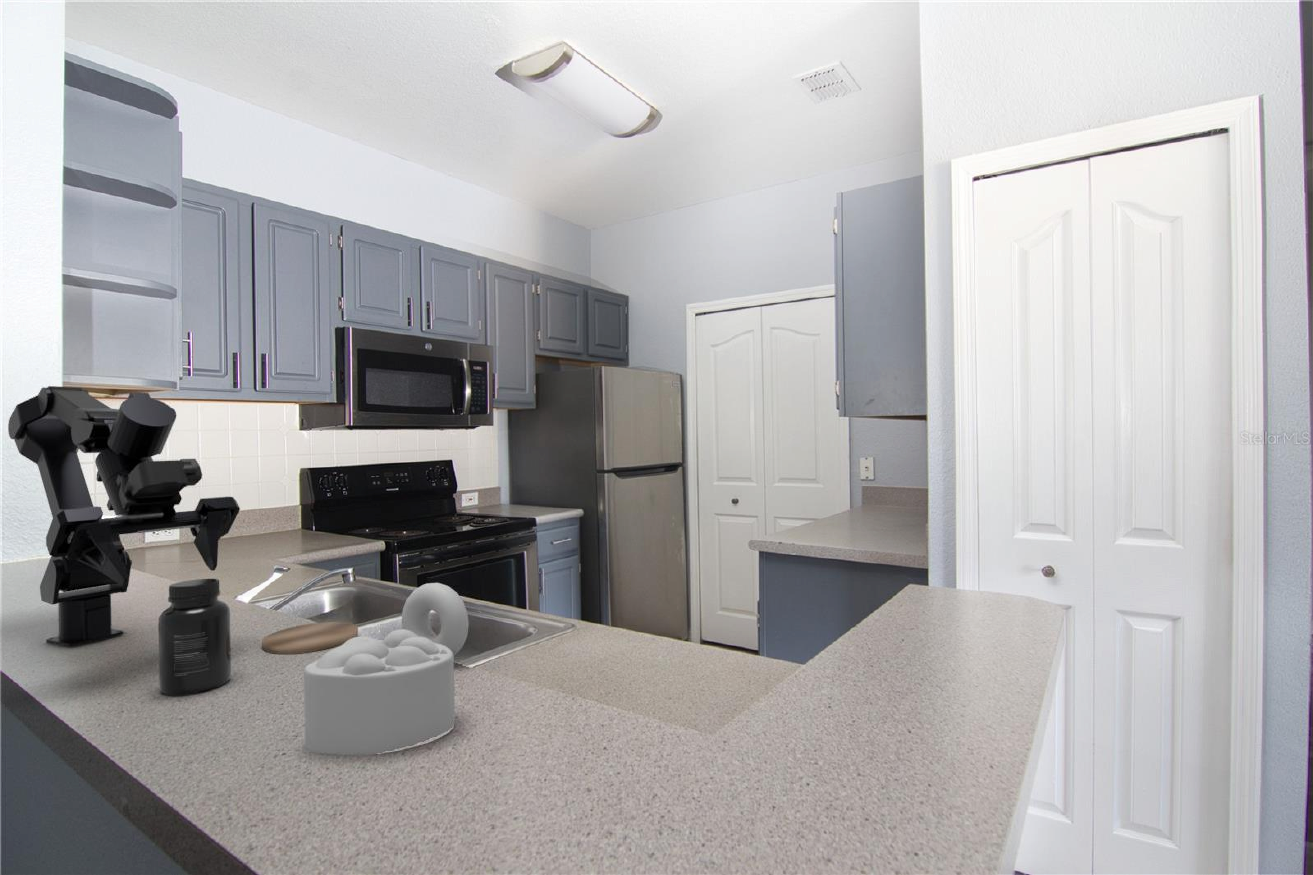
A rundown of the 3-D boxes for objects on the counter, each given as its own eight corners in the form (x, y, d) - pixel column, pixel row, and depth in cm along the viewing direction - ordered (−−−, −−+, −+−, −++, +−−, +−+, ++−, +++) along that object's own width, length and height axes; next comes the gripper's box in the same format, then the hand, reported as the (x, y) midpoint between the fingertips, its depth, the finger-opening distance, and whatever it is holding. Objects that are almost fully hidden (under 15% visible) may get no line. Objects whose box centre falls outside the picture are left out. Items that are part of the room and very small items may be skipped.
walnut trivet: (241, 648, 88) (241, 642, 88) (317, 624, 99) (317, 619, 99) (304, 658, 83) (304, 652, 83) (376, 632, 94) (376, 626, 94)
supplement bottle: (245, 675, 77) (244, 576, 77) (199, 697, 71) (198, 589, 71) (193, 673, 78) (191, 575, 78) (142, 696, 71) (141, 589, 71)
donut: (475, 662, 81) (474, 583, 81) (456, 671, 78) (454, 589, 78) (416, 652, 85) (415, 577, 85) (395, 660, 82) (394, 582, 82)
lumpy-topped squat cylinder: (351, 706, 68) (350, 625, 68) (471, 708, 67) (470, 625, 67) (289, 754, 58) (288, 658, 58) (429, 757, 57) (428, 660, 57)
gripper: (52, 439, 73) (91, 542, 67) (232, 438, 88) (275, 521, 83) (31, 505, 77) (65, 608, 71) (206, 493, 93) (245, 576, 87)
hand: (172, 575), depth 78 cm, fingers open, 9 cm apart
